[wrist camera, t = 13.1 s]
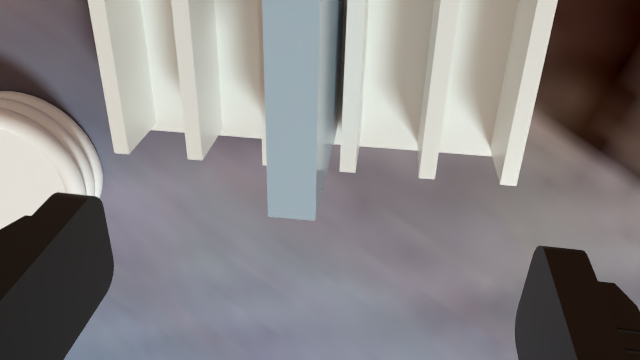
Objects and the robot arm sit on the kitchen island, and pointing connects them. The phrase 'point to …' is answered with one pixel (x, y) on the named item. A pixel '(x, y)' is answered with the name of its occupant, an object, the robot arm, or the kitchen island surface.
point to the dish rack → (356, 75)
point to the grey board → (300, 100)
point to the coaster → (41, 156)
